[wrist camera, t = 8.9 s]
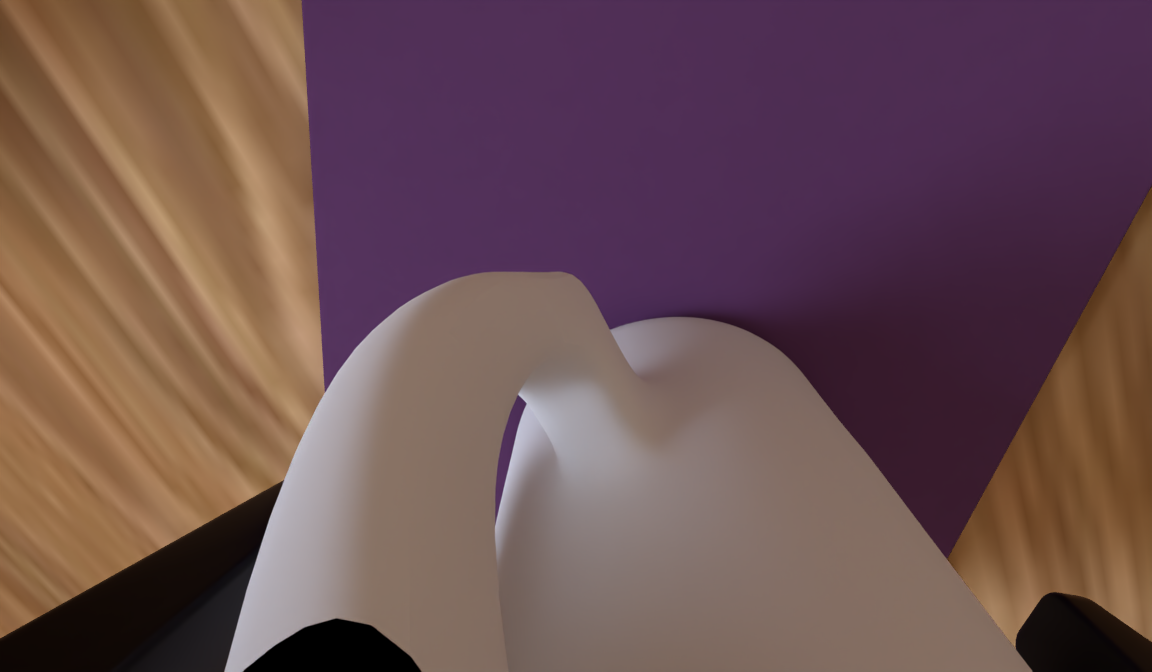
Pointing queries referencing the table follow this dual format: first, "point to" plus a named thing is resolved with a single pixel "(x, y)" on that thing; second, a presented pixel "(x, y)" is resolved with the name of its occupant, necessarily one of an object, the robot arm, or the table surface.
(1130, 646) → the robot arm
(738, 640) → the mug
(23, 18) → the table surface
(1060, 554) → the table surface
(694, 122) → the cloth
